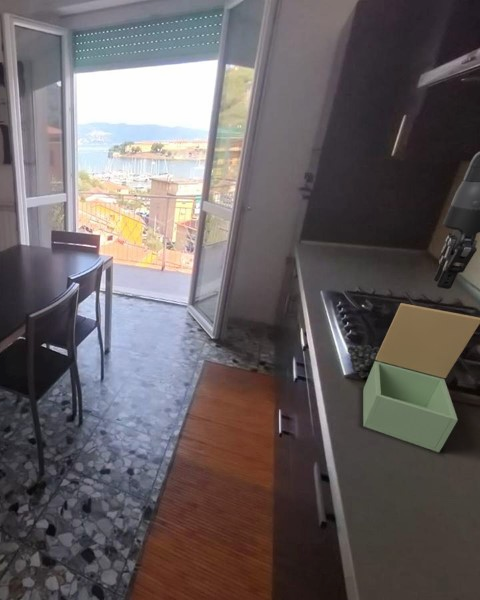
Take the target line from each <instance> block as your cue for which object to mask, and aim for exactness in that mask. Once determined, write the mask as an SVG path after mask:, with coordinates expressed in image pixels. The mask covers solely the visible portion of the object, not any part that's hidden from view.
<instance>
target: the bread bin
mask: <svg viewBox="0 0 480 600" xmlns="http://www.w3.org/2000/svg"><path fill="white" fill-rule="evenodd" d="M362 393H363V394H362V403H363V404H362V408H363V409H362V412H363V413H362V416H363V417H362V420H363V421H362V422H363V424H362V426H363V427H364V428H367V429H369V430H373V431H375V432H379V433H381V434H383V435H386V436H390V437H392V438H396V439H398V440H401V441H404V442H408V443H410V444H413V445H416V446H419V447H422V448H425V449H427V450H431V451H433V452H436V453H441V450H442V448H443V447H444V445H445V444H446V442H447V440H448V439H449V436H450V435H451V433H452V431H453V430H454V428H455V426H456V424H457V423H458V420H459V419H458V416H457V413H456V410H455V407H454V404H453V402H452V398H451V395H450V392H449V388H448V386H447V383H446V380H445V378H442V377H438V376H434V375H430V374H427V373H423V372H419V371H415V370H411V369H408V368H404V367H400V366H396V365H393V366H392V365H388V364H384V363H381V362H377V361H375V362H374V364H373V367H372V369H371V372H370V374H369V376H368V379H367V378H366V381H365V384H364V386H363V389H362Z"/></svg>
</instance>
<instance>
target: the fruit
mask: <svg viewBox="0 0 480 600" xmlns="http://www.w3.org/2000/svg"><path fill="white" fill-rule="evenodd" d="M380 348H381V347H379V346H374V347H372V346H371V345H370V344H364V345H362V344H359V345H353V346H349V347H348V348H347V353H348V354H350V356H349V357H350V363H351V368H352V370H353V371H354V373H355V374H356V375H358V376H359V377H360V378H361V379H366V380H367V379H368V376H369V374H370V372H371V369H372V367H373V364H374V362H375V361H377V360H376V356H377V354H378V352H379V350H380ZM377 362H381V361H377ZM381 363H384V364H388V363H385V362H381ZM388 365H392V364H388ZM392 366H394V365H392ZM358 372H359V373H358Z"/></svg>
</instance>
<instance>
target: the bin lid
mask: <svg viewBox="0 0 480 600" xmlns="http://www.w3.org/2000/svg"><path fill="white" fill-rule="evenodd" d="M479 325H480V317H478V316H472V315H468V314H462V313H456V312H451V311H445V310H442V309H441V310H440V309H435V308H430V307H425V306H420V305H413V304H408V303H404V302H400V304H399V306H398V308H397V310H396V312H395V315H394V316H393V319H392V322H391V324H390V326H389V328H388V330H387V332H386V335H385V337H384V339H383V341H382V343H381V345H380V347H379V348H380V350H379V352H378V354H377V356H376V360H377V361H381V362H385V363H388V364H392V365H393V366H396V367H400V368H403V369H407V370H411V371H415V372H419V373H423V374H426V375H430V376H434V377H438V378H442V379H446V378H447V377H448V375H449V373H450V372H451V370H452V369H453V368H454V366H455V364H456V362H458V359H459V357H460V356H461V355H462V353H463V351H464V349H465V348H466V346H467V345H468V343H469V342H470V340H471V338H472V337H473V335H474V334H475V332H476V331H477V329H478V327H479Z"/></svg>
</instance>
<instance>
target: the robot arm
mask: <svg viewBox="0 0 480 600" xmlns="http://www.w3.org/2000/svg"><path fill="white" fill-rule="evenodd" d="M442 226H443V227H444V228H446V229H450V230H452V232H448V233H446V235H445V239H444V242H443V245H442V248H441V251H440V253H439V256H438V260H439V261H438V263H439V265H438V268H437V269H436V272H435V274H434V277H433V280H434V282H436V287H437V288H439V289H446V290H449V289H451V288H452V286H453V284H454V282H455V280H456V278H457V276H458V274H460V273H464V272H465V269H467V266H468V265H469V263H470V262H471V260H472V258H473V257H474V255H475V253H476V252H477V250H478V249H477V248H478V247H476V246H477V244H478V240H477V239H476V238H477V234H479V233H480V150H478V151H476V153H475V154H474V155H473V157H472V158H471V160H470V162H469V164H468V167H467V169H466V172H465V174H464V176H463V178H462V181H461V183H460V184H459V186H458V188H457V189H456V191H455V193H454V196H453V198H452V200H451V203H450V205H449V207H448V210H447V212H446V215H445V217H444V219H443V222H442ZM457 263H458V264H457Z"/></svg>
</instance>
